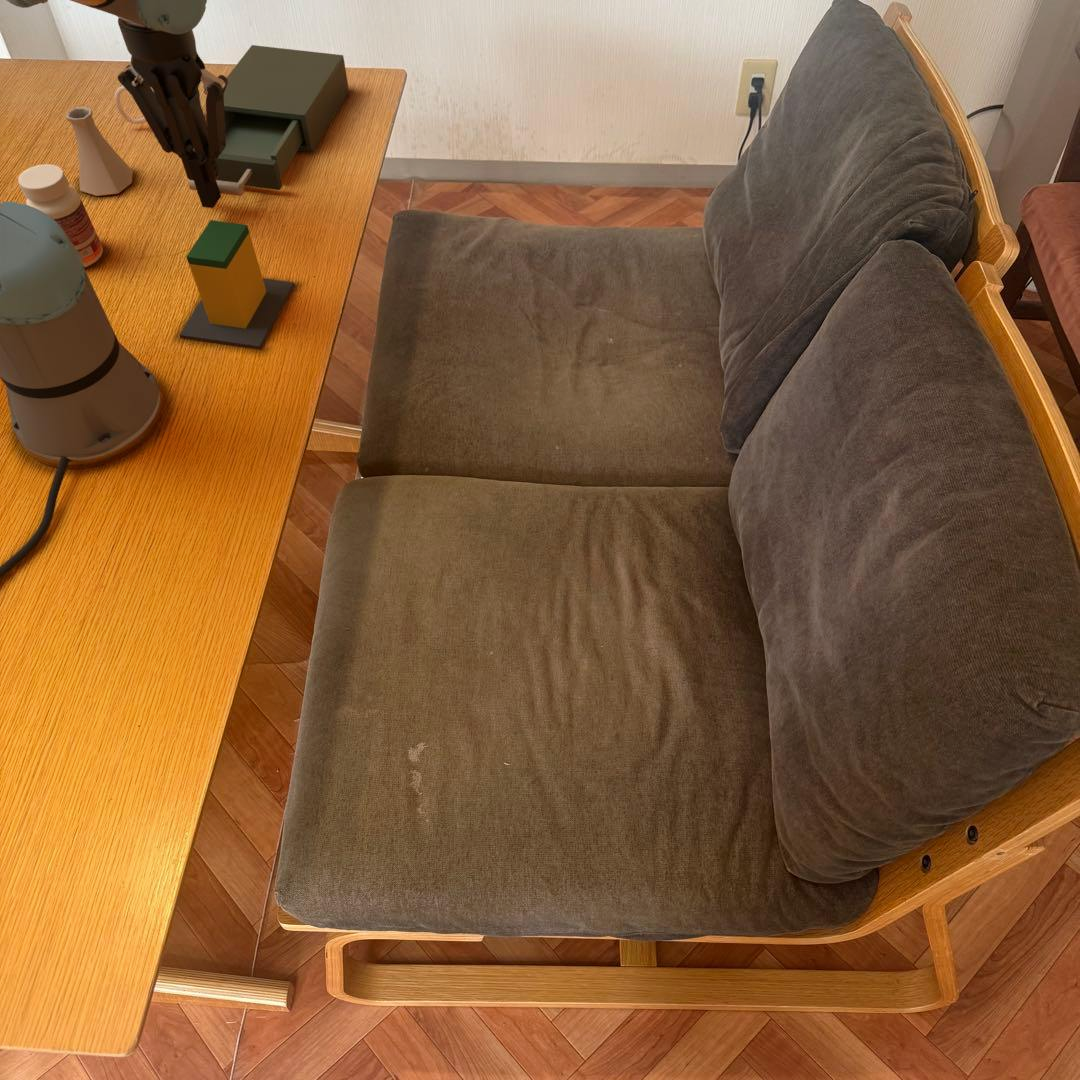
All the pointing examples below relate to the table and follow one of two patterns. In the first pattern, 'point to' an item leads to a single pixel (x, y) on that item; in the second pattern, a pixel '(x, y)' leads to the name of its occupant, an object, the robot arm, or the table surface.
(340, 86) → the cabinet
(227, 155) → the drawer
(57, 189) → the pill bottle
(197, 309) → the mat
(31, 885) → the table surface
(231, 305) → the sponge
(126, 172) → the flask
